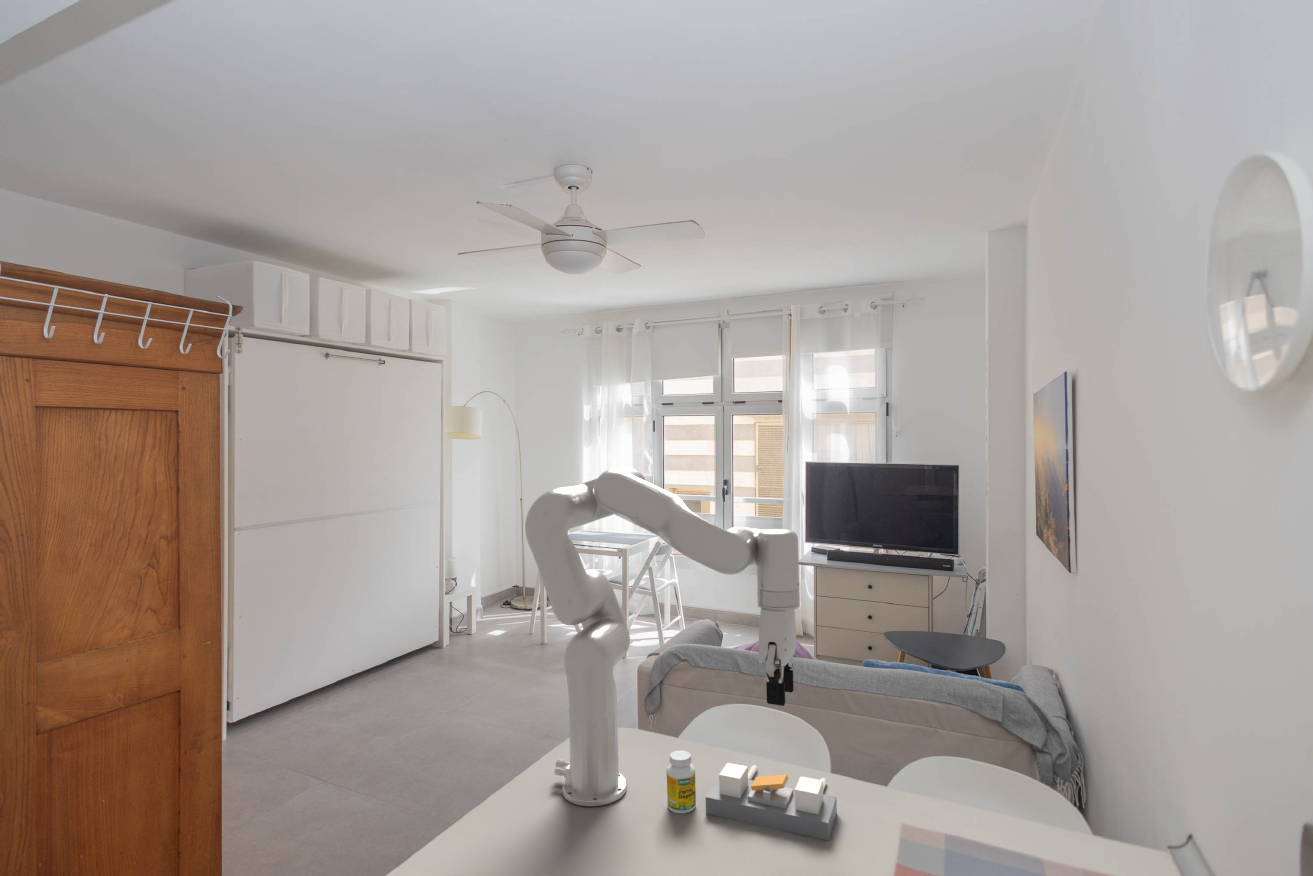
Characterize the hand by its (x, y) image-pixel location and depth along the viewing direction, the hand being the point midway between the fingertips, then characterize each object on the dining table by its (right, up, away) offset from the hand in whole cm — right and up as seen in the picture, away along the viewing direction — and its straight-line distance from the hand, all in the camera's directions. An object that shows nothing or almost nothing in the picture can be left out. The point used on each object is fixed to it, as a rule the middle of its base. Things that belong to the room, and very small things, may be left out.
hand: (780, 696), depth 119 cm
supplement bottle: (-18, -22, +3) cm, 29 cm away
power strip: (+1, -22, +5) cm, 22 cm away
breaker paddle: (-2, -17, +1) cm, 17 cm away
